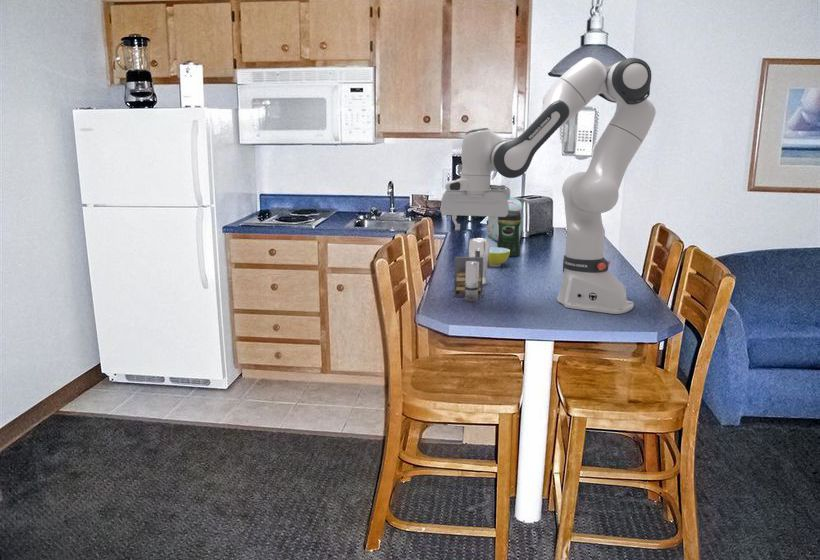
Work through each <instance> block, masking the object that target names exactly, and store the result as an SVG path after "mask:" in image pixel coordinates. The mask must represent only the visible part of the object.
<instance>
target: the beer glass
mask: <svg viewBox="0 0 820 560" xmlns="http://www.w3.org/2000/svg"><path fill="white" fill-rule="evenodd" d="M468 243H469V245H468V257H483V277H482V286H485V285H487V284H488V280H487V270H488V266H489V263H488V260H489V251H490V248H489V247H490V239H488V238H482V237H481V238H480V237H476V238H475V237H474V238H470V239H469V242H468Z"/></svg>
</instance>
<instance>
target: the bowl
mask: <svg viewBox="0 0 820 560" xmlns="http://www.w3.org/2000/svg"><path fill="white" fill-rule="evenodd" d="M489 248H490V251H489V260H488V266H489V267H493V268H499V267H501V266H502V264H503V263H505V262H506V261H508V259H509V254H510V250H509V249H506V248H498V247H497V246H496V247H492V246H491V247H490V246H489Z"/></svg>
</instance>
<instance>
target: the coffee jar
mask: <svg viewBox="0 0 820 560" xmlns="http://www.w3.org/2000/svg"><path fill="white" fill-rule="evenodd" d="M497 221H498V225H499V233H498V241H496V242H497V244H496V247H498V248H506V249H509V250H510V254H509V257H510V258H512V257H519V256H520V254H521V246H520V241H519V226H520V223H521V215H520V212H519V211H508V215H507V216H506V217H498V219H497ZM509 257H508V258H509Z"/></svg>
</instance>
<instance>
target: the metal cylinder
mask: <svg viewBox="0 0 820 560" xmlns="http://www.w3.org/2000/svg"><path fill="white" fill-rule="evenodd" d="M478 280H479V262H478V261H466V276H465V297H464V301H465V302H469V303H475V302H474V301H476V302H478V299H479V298H478Z"/></svg>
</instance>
